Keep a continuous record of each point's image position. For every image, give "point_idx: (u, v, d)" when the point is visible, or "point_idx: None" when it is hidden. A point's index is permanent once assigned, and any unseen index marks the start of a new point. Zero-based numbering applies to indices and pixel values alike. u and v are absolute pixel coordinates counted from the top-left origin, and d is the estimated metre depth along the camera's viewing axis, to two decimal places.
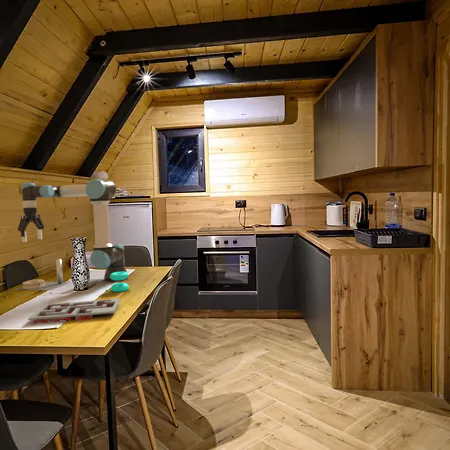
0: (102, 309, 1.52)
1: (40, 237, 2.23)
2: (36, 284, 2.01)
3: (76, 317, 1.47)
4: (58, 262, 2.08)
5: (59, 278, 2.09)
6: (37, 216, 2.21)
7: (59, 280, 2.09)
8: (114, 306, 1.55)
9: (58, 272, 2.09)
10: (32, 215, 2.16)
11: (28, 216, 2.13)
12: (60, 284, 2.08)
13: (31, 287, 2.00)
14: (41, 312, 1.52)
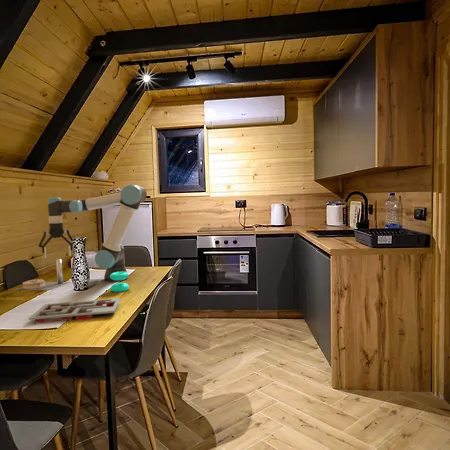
0: (102, 309, 1.52)
1: (69, 254, 2.12)
2: (36, 284, 2.01)
3: (76, 317, 1.47)
4: (58, 262, 2.08)
5: (59, 278, 2.09)
6: (66, 232, 2.11)
7: (59, 280, 2.09)
8: (114, 306, 1.56)
9: (58, 272, 2.09)
10: (57, 231, 2.07)
11: (50, 232, 2.06)
12: (60, 284, 2.08)
13: (31, 287, 2.00)
14: (41, 312, 1.52)
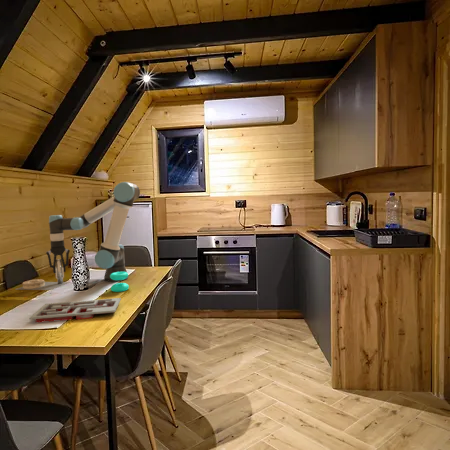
0: (103, 308, 1.52)
1: (62, 275, 2.10)
2: (36, 284, 2.01)
3: (77, 316, 1.48)
4: (58, 262, 2.08)
5: (59, 278, 2.09)
6: (66, 251, 2.11)
7: (59, 280, 2.09)
8: (115, 305, 1.56)
9: (58, 272, 2.09)
10: (58, 248, 2.08)
11: (52, 250, 2.07)
12: (60, 284, 2.08)
13: (31, 287, 2.00)
14: (42, 311, 1.53)
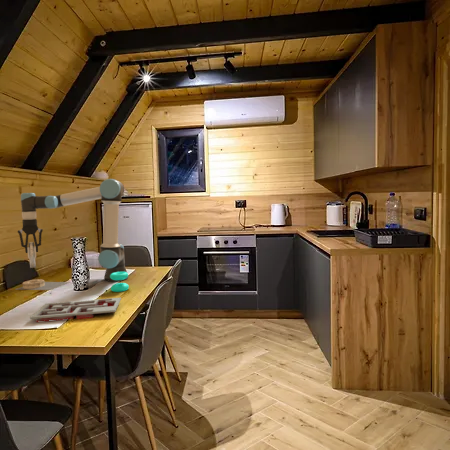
0: (103, 308, 1.53)
1: None
2: (36, 284, 2.01)
3: (77, 316, 1.48)
4: (30, 245, 2.02)
5: (31, 262, 2.03)
6: (39, 230, 2.05)
7: (31, 264, 2.03)
8: (115, 305, 1.57)
9: (30, 255, 2.02)
10: (30, 227, 2.02)
11: (24, 228, 2.00)
12: (60, 284, 2.08)
13: (31, 287, 2.00)
14: (42, 311, 1.53)
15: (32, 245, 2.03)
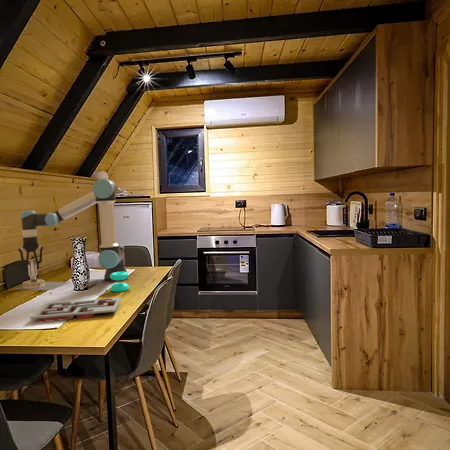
0: (103, 308, 1.53)
1: None
2: (36, 284, 2.01)
3: (78, 316, 1.49)
4: (31, 263, 2.03)
5: (32, 279, 2.03)
6: (40, 247, 2.05)
7: (32, 281, 2.03)
8: (115, 305, 1.57)
9: (31, 273, 2.03)
10: (31, 245, 2.02)
11: (24, 246, 2.01)
12: (60, 284, 2.08)
13: (31, 287, 2.00)
14: (43, 311, 1.53)
15: (33, 263, 2.03)
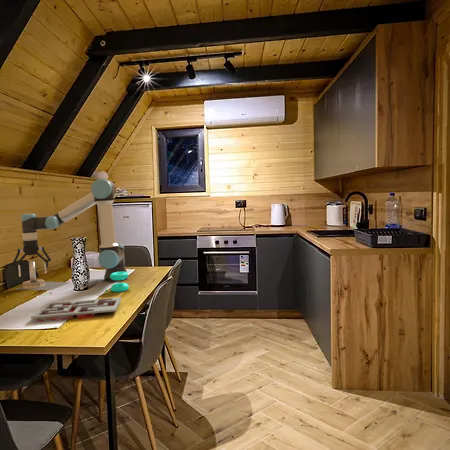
0: (104, 307, 1.54)
1: (45, 271, 2.07)
2: (36, 284, 2.01)
3: (78, 315, 1.49)
4: (31, 265, 2.03)
5: (32, 281, 2.03)
6: (41, 249, 2.06)
7: None
8: (115, 305, 1.57)
9: (31, 275, 2.03)
10: (31, 248, 2.02)
11: (25, 249, 2.01)
12: (60, 284, 2.08)
13: (31, 287, 2.00)
14: (43, 311, 1.54)
15: (33, 264, 2.03)
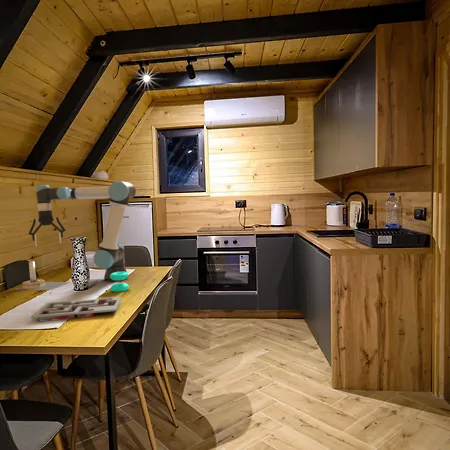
0: (104, 307, 1.54)
1: (60, 241, 2.13)
2: (36, 284, 2.01)
3: (78, 315, 1.49)
4: (31, 265, 2.03)
5: (32, 281, 2.03)
6: (55, 219, 2.12)
7: None
8: (116, 304, 1.58)
9: (31, 275, 2.03)
10: (46, 218, 2.09)
11: (40, 219, 2.07)
12: (60, 284, 2.08)
13: (31, 287, 2.00)
14: (44, 310, 1.54)
15: (33, 264, 2.03)
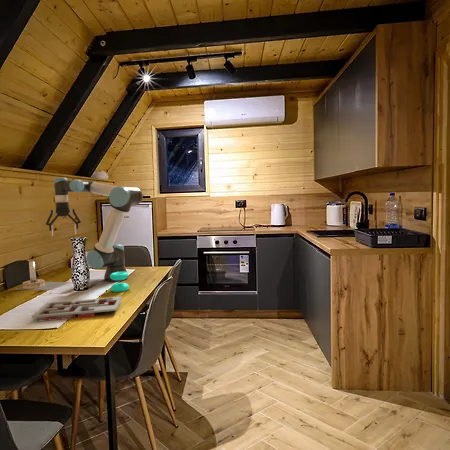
0: (104, 307, 1.54)
1: (75, 232, 2.21)
2: (36, 284, 2.01)
3: (79, 315, 1.50)
4: (31, 265, 2.03)
5: (32, 281, 2.03)
6: None
7: None
8: (116, 304, 1.58)
9: (31, 275, 2.03)
10: (63, 210, 2.17)
11: (57, 211, 2.15)
12: (60, 284, 2.08)
13: (31, 287, 2.00)
14: (44, 310, 1.55)
15: (33, 264, 2.03)
